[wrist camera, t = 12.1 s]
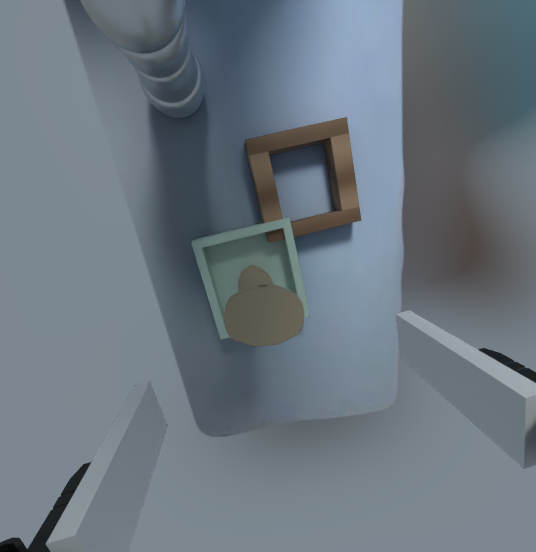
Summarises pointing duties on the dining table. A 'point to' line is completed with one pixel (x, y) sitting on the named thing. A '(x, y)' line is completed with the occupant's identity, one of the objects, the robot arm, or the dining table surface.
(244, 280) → the handle
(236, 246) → the tray
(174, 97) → the plastic bottle
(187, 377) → the dining table surface
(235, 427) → the dining table surface
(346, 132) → the brown wooden frame
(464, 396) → the robot arm
